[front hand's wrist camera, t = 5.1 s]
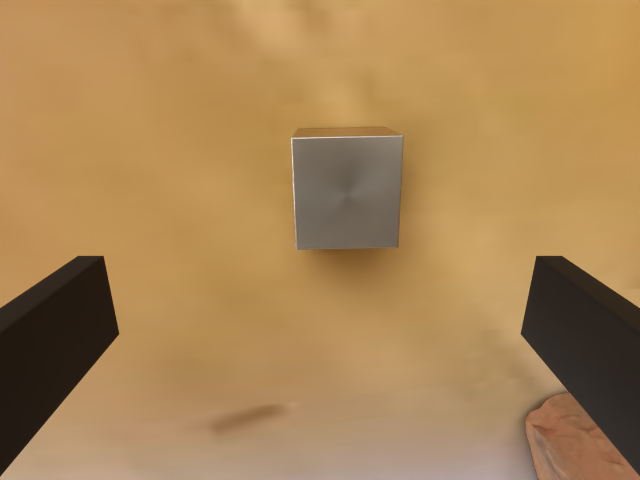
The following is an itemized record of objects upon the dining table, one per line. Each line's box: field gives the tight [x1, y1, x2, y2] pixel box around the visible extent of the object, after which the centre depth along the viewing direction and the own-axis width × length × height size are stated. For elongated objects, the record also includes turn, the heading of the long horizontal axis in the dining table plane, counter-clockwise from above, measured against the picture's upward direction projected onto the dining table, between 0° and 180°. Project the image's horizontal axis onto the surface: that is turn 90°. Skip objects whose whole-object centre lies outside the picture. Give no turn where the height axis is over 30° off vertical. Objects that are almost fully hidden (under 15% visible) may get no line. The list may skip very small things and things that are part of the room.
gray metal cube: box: [291, 127, 404, 250], centre depth 17 cm, size 4×4×4 cm
